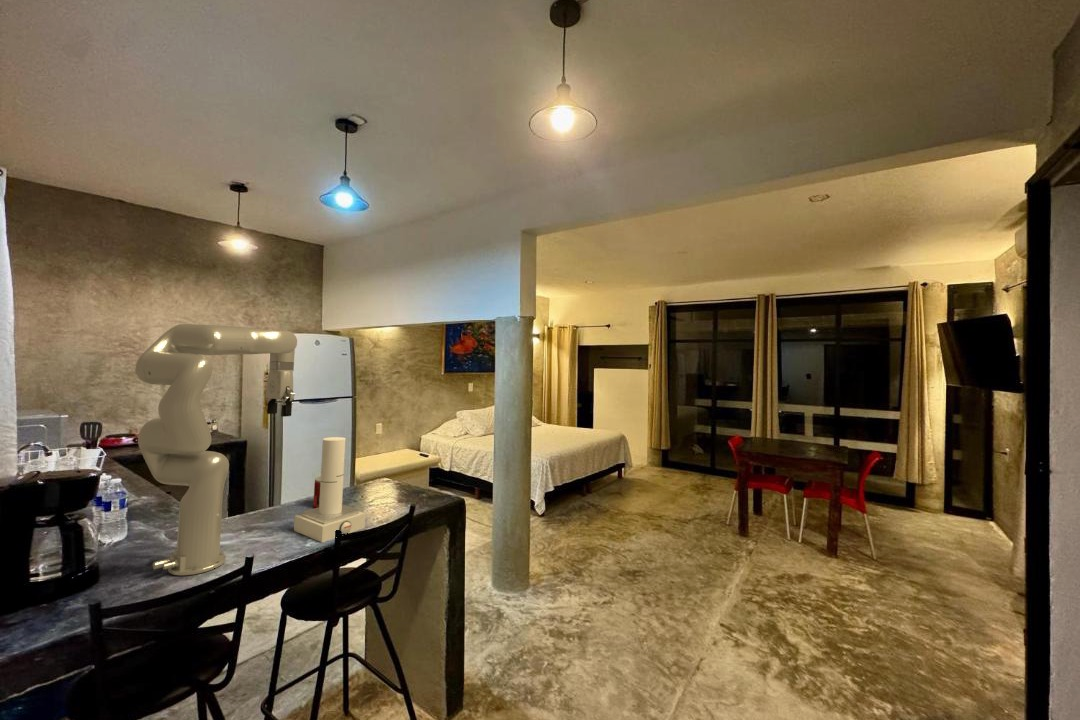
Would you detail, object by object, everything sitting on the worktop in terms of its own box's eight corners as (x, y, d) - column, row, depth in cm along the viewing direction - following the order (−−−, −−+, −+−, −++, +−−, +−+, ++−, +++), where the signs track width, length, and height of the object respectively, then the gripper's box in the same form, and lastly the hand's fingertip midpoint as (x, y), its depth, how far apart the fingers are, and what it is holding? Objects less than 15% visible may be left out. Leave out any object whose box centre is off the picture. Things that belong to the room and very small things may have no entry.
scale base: (323, 543, 138) (324, 527, 138) (294, 530, 147) (294, 516, 147) (366, 528, 152) (367, 514, 152) (337, 517, 161) (337, 504, 161)
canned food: (315, 510, 168) (317, 481, 168) (311, 504, 174) (312, 477, 174) (336, 506, 173) (338, 479, 173) (331, 501, 179) (333, 474, 179)
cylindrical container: (346, 510, 151) (350, 438, 151) (327, 516, 145) (331, 441, 145) (333, 506, 155) (337, 436, 155) (314, 511, 148) (318, 438, 149)
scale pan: (324, 523, 141) (324, 520, 141) (301, 515, 148) (301, 511, 148) (359, 513, 152) (359, 509, 152) (336, 505, 159) (336, 502, 159)
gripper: (258, 365, 156) (255, 413, 155) (283, 367, 146) (280, 418, 146) (280, 366, 162) (277, 412, 162) (305, 368, 153) (302, 416, 152)
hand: (279, 414), depth 154 cm, fingers open, 9 cm apart
